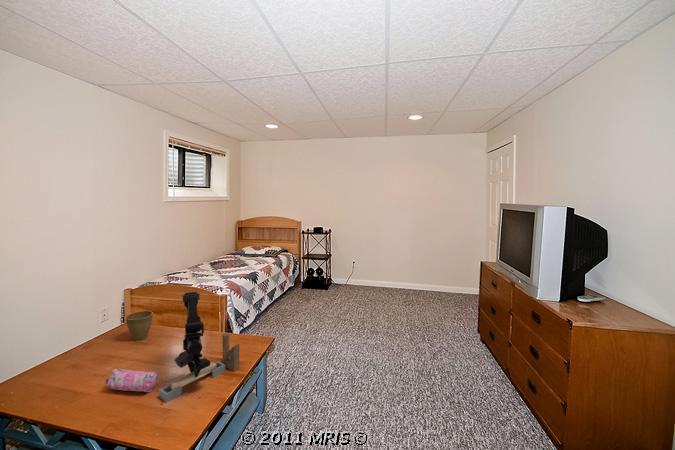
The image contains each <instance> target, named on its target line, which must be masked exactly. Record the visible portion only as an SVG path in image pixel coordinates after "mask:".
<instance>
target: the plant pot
mask: <svg viewBox="0 0 675 450" xmlns="http://www.w3.org/2000/svg"><path fill="white" fill-rule="evenodd" d="M153 315H154V312H153V311H151V310H141V311H137V312H132V313H129V314H128V315H126V316H125V322H126V325H127V328H128V331H129V333H130V336H131V337H132V340H134V341H136V342H137V341H142V340H146V339H147V338H148V336H149V332H150V329H151V326H152V321H153Z"/></svg>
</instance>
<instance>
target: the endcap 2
mask: <svg viewBox="0 0 675 450" xmlns="http://www.w3.org/2000/svg"><path fill="white" fill-rule="evenodd" d="M214 363H216V369H214V370H212V372H211V377H212V378H215V377H218V376H219V375H221V374H222V373H224V372H226V367H225V365H224V364H222V363H221V361H219V360H217V361H216V362H214Z"/></svg>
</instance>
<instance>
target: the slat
mask: <svg viewBox="0 0 675 450" xmlns="http://www.w3.org/2000/svg"><path fill="white" fill-rule="evenodd" d="M214 369H216V363H215V362H214V361H212V362H210V366H208V367H206V368H204V369H201V370H200V373H199V375H198V377H195V374H194V371H193V372H189V373H188V374H184V375H182V376H180V377H179V378H176V379H175V380H173V381H171V382H169V385H170V389H171V390H174V389H176V388H178V387H180V386H181V387H182V388H183V387H184V386H186V385H189V384H190V383H192V382H194V381H196V380H198V379H200V378H201V377H202V378H203V377H204V376H206V375H208V374H210V373H212V370H214Z"/></svg>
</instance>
